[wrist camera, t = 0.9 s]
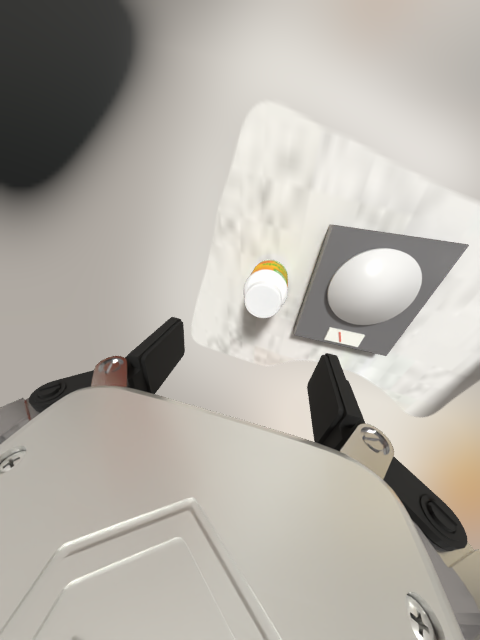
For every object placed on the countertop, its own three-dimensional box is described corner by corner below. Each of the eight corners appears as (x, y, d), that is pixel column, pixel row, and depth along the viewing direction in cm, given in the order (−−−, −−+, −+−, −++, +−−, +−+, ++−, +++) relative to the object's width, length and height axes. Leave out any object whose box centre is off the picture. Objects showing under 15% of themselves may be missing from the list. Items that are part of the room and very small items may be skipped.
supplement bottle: (294, 267, 26) (298, 289, 17) (278, 298, 28) (275, 330, 20) (259, 253, 26) (247, 269, 18) (247, 286, 29) (231, 313, 20)
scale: (454, 242, 20) (476, 245, 18) (380, 347, 29) (388, 359, 26) (329, 224, 22) (335, 225, 20) (293, 328, 30) (294, 337, 28)
